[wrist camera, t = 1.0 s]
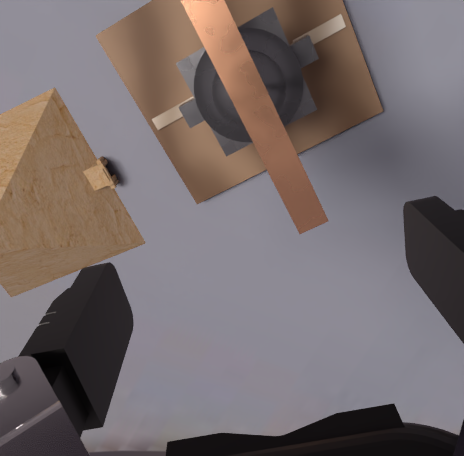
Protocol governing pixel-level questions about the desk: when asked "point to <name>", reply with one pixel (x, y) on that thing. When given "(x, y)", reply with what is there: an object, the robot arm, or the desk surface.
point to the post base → (177, 92)
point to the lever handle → (253, 95)
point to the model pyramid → (54, 198)
